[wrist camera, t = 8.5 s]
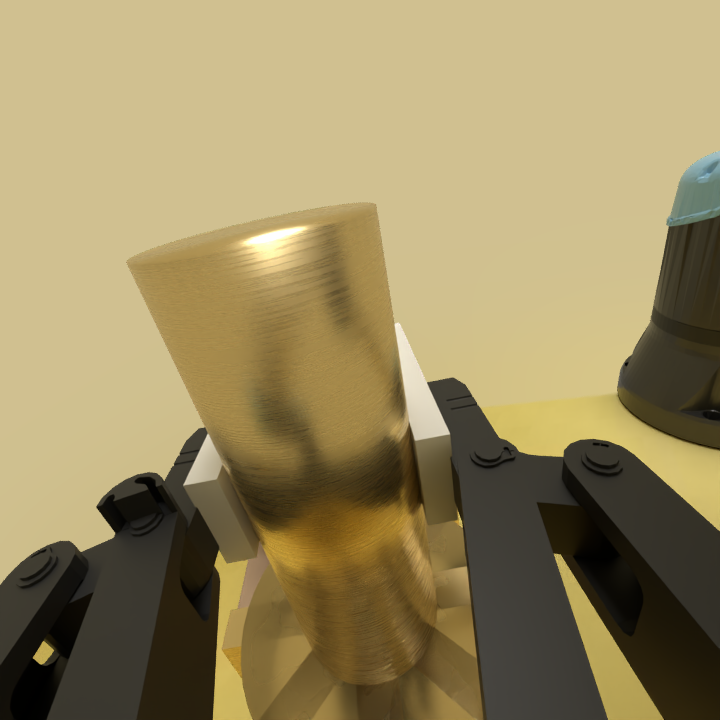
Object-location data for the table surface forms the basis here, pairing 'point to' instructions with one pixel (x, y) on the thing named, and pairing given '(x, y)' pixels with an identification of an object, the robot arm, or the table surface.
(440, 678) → the planet gear
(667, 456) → the table surface
